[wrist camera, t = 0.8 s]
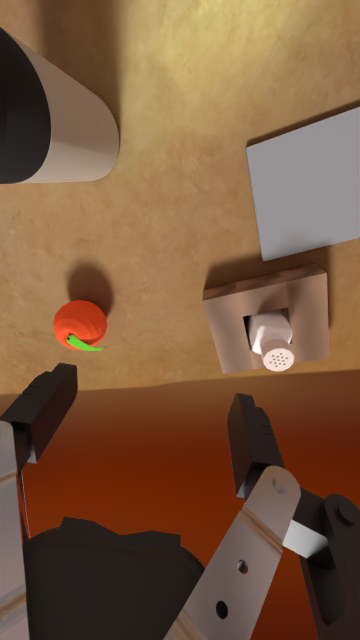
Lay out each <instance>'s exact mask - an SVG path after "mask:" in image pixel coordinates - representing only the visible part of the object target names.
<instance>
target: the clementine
mask: <svg viewBox="0 0 360 640" xmlns="http://www.w3.org/2000/svg"><path fill="white" fill-rule="evenodd" d="M106 328H107V322H106V317H105V315H104V313H103V312H102V310H101V309H100V308H99V307H98V306H97V305H95V304H93V303H91V302H89V301H85V300H76V301H72V302H69V303H67V304H66V305H64V306H62V307H61V308H60V310H59V311H58V312H57V313H56V315H55V318H54V322H53V329H54V332H55V336H56V337H57V339H58V340H59V341H60V342H61V343H62V344H63V345H64V346H66V347H68V348H70V349H74V350H88V351H97V350H101V349H103V348H95V347H93V346H95V345H97V344H98V343H99V342H100V341H101V340H102V339H103V337H104V335H105V332H106ZM104 348H105V347H104Z"/></svg>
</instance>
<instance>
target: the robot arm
mask: <svg viewBox="0 0 360 640" xmlns="http://www.w3.org/2000/svg"><path fill="white" fill-rule="evenodd" d="M77 390H78V384H77V367H76V365H71V364H65V363H59V364H58V365H57V366H56V367H55V368H54V370H53V371H52V372H47V371H46V372H44V373H43V374H41V375H39V376H37V377H36V378H35V379H34V380H33V381H32V382H31V383H30V384H29V386H28V387H27V388H26V389H25V390H24V391H23V392H22V394H20V396H19V397H18V398H17V399H16V400H15V401H14V402H13V403H12V405H11V406H10V407H9V408H8V409H7V410H6V411H5V412H4V413H3V415H2V416H1V417H0V640H250V637H251V634H252V632H253V629H254V626H255V624H256V621H257V619H258V616H259V613H260V611H261V608H262V605H263V602H264V600H265V597H266V595H267V592H268V589H269V586H270V584H271V581H272V578H273V576H274V573H275V571H276V568H277V565H278V563H279V560H280V557H281V554H282V551H283V547H282V545H284V546H286V547H287V548H289V549H291V550H292V551H294V552H296V553H298V555H299V559H300V563H301V567H302V572H303V576H304V580H305V584H306V588H307V593H308V597H309V601H310V605H311V609H312V614H313V618H314V622H315V626H316V630H317V634H318V638H319V640H360V510H359V509H358V508H357V507H356V505H354V504H353V503H352V502H351V501H350V500H348V499H346V498H345V497H343V496H341V495H337V494H330V495H328V496H327V497H326V498H325V499H322V498H321V497H319V496H317V495H315V494H312V493H310V492H308V491H306V490H305V489H303V488H301V487H300V486H299V484H298V482H297V481H296V479H295V478H294V477H293V476H292V475H291V473H289V472H288V471H287V470H286V469H285V466H284V463H283V460H282V458H281V454H280V451H279V448H278V445H277V442H276V439H275V437H274V433H273V430H272V428H271V424H270V421H269V417H268V416H267V414H266V413H265V412H264V411H263V409H262V408H259V407H255V403H254V400H253V397H252V396H251V395H246V394H241V393H236V394H235V397H234V400H233V402H232V405H231V408H230V411H229V414H228V419H227V429H228V436H229V445H230V453H231V460H232V468H233V476H234V483H235V491H236V497H242V498H245V504H244V506H243V508H242V509H241V510H240V511H239V513H238V515H237V517H236V518H235V520H234V521H233V523H232V525H231V527H230V528H229V530H228V532H227V533H226V535H225V537H224V539H223V540H222V542H221V544H220V545H219V547H218V549H217V550H216V552H215V554H214V556H213V557H212V559H211V561H210V563H209V564H208V566H207V568H206V569H205V567H204V566H203V564H202V563H201V562H200V561H199V559H198V558H196V556H195V555H194V554H192V553H191V552H190V551H189V550H187V549H186V548H185V547H183V546H181V545H180V535H177V534H170V533H164V532H158V531H147V532H140V533H135V534H128V535H118V534H116V533H114V532H112V531H110V530H108V529H107V528H105V527H103V526H101V525H99V524H97V523H95V522H93V521H88V520H82V519H76V518H69V517H64V518H63V521H62V523H61V525H60V527H55V528H52V529H48V530H46V531H43V532H41V533H39V534H37V535H35V536H34V537H32V538H30V535H29V528H28V522H27V515H26V506H25V497H24V488H23V479H22V472H21V471H22V469H23V467H24V466H25V464H26V463H27V462H31V463H37V462H38V460H39V459H40V457H41V455H42V454H43V452H44V450H45V449H46V447H47V445H48V444H49V442H50V440H51V439H52V437H53V435H54V434H55V432H56V431H57V429H58V427H59V425H60V424H61V422H62V421H63V419H64V417H65V416H66V414H67V412H68V411H69V409H70V407H71V406H72V404H73V402H74V401H75V398H76V395H77Z"/></svg>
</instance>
